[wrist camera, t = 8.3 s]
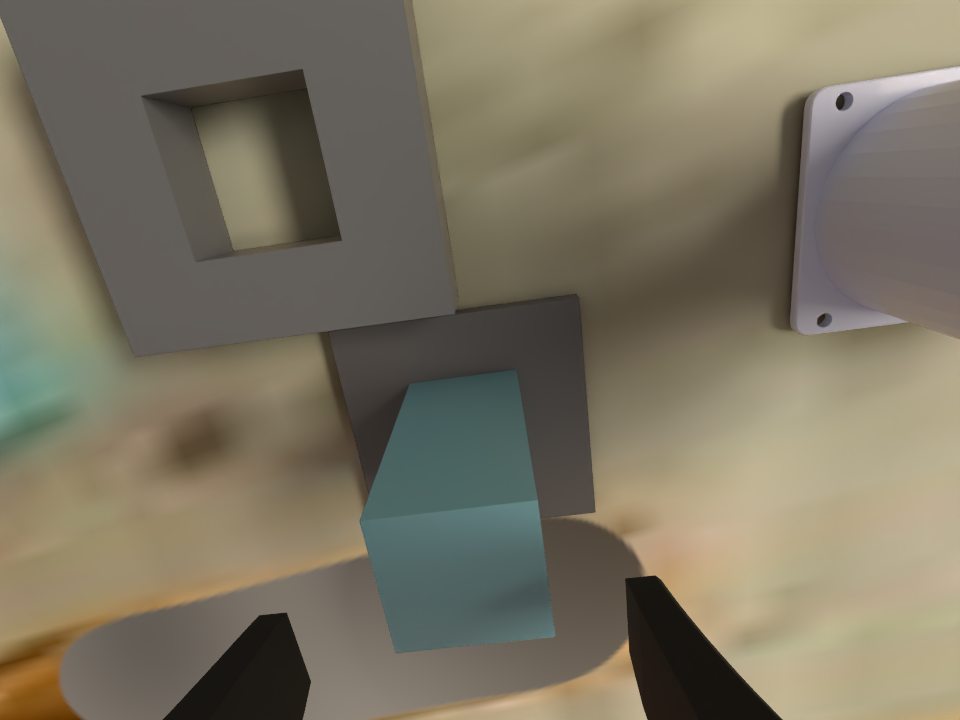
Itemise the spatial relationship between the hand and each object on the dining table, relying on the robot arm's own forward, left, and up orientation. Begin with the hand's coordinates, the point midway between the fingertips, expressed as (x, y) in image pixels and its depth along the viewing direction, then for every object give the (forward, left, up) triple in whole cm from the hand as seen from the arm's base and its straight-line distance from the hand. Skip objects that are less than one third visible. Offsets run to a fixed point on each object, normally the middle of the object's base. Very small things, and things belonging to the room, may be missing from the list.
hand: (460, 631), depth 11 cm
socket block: (+5, -10, -10) cm, 15 cm away
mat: (0, 0, -10) cm, 10 cm away
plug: (0, 0, -9) cm, 9 cm away
